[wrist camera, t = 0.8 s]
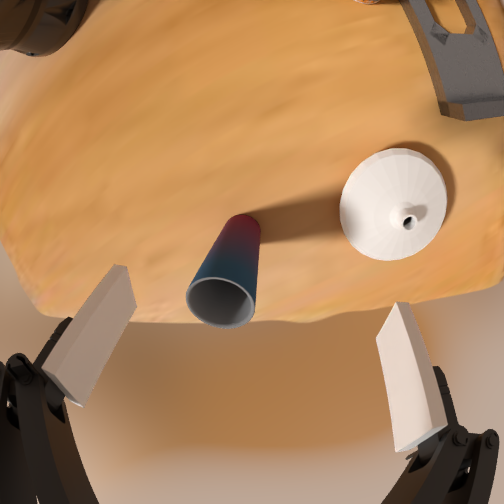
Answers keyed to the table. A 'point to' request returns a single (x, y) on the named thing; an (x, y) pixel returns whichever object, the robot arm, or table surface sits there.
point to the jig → (460, 62)
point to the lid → (393, 204)
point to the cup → (228, 276)
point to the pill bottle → (368, 1)
